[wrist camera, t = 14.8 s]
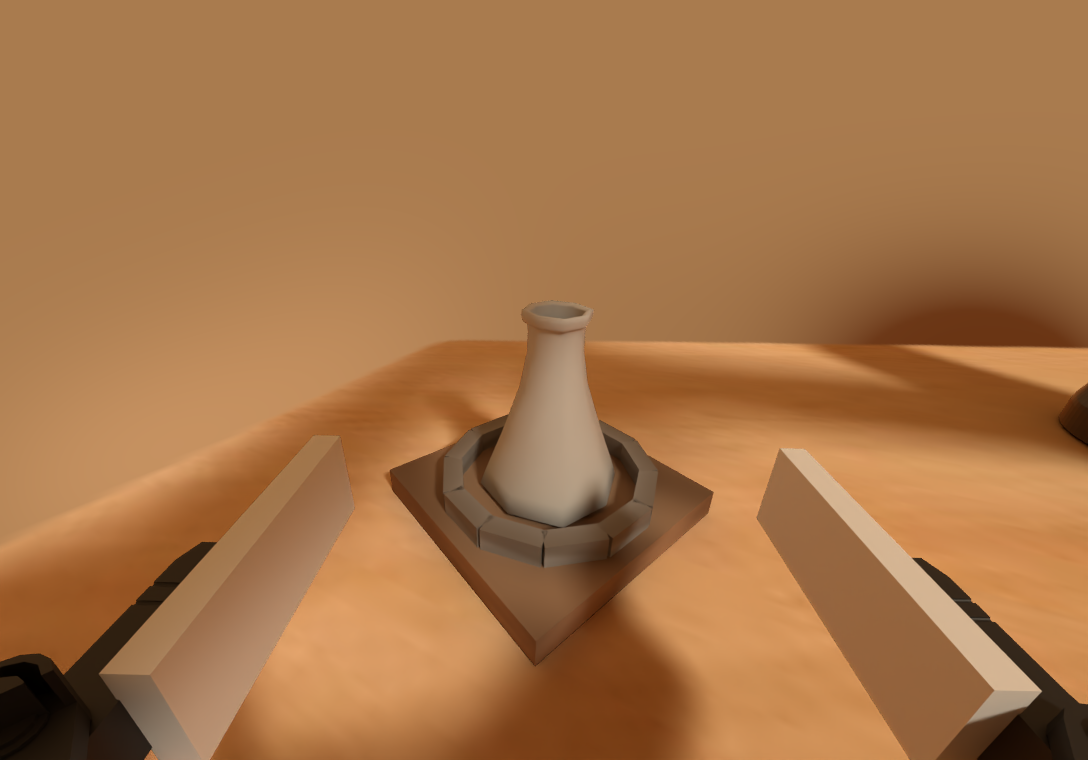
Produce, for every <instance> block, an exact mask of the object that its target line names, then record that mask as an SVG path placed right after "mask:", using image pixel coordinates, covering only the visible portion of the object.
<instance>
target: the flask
mask: <svg viewBox="0 0 1088 760" xmlns="http://www.w3.org/2000/svg"><path fill="white" fill-rule="evenodd" d="M521 315H522V320H523V321H524V322H525V323H527V326H528V343H527V355H526V359H525V364H524V369H523V373H522V378H521V383H520V386H519V389H518V392H517V394H516V397H515V399H514V402H513V405H512V407H511V410H510V412H509V415H508V418H507V420H506V423H505V425H504V428H503V430H502V433H501V435H500V437H499V440H498V442H497V444H496V447H495V449H494V451H493V454H492V456H491V458H490V460H489V463H488V465H487V467H486V470H485V472H484V475H483V478H482V480H481V483H482V485H483V486H484V487H485V488H486V489H487V490H488V492H489V493H490V494H491V495H492V496H493V497H494V498H495V500H496V501H497V502H498V503H499V504H500V505H501V507H502V508H503V509H504V510H505V511H506V512H507V514H511V515H515V516H519V517H522V518H526V519H530V520H534V521H538V522H542V523H545V524H549V525H553V526H557V527H561V528H564V527H566V526H568V525H570V524H572V523H573V522H575V521H577V520H579V519H581V518H583V517H585V516H587V515H589V514H591V513H592V512H594V511H596V510H598V509H600V508H602V507H604V506H606V505H607V501H608V497H609V493H610V490H611V486H612V482H613V478H614V474H615V471H614V468H613V464H612V461H611V458H610V455H609V452H608V449H607V446H606V443H605V440H604V437H603V434H602V431H601V428H600V424H599V421H598V417H597V414H596V410H595V407H594V403H593V400H592V396H591V393H590V389H589V386H588V381H587V372H586V363H585V354H584V344H585V329H586V326H587V325H588V323H589V322H590V320H591V319H592V316H593V309H591V308H588V307H585V306H582V305H580V304H577V303H570V302H561V301H553V300H551V301H544V302H538V303H531V304H530V305H528V306H527V307H525V308H524V309H523V310H522V313H521Z"/></svg>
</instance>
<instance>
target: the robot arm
mask: <svg viewBox="0 0 1088 760" xmlns="http://www.w3.org/2000/svg"><path fill="white" fill-rule="evenodd" d="M1059 420H1060V422H1061V424H1062V425H1063V426H1064V427H1065V428H1066V429H1067V430H1068V431H1069V432H1070V433H1072V434H1073V435H1074V436H1076V437H1077V438H1079V439H1080V440H1082V441H1083V442H1085V443H1087V444H1088V383H1087V384H1086V385H1085V386H1083V387H1082V388H1080V389H1079V390H1078V391H1076V392H1075V393H1074V395H1073V396H1072V397H1071V398H1070V400H1069V402H1068V403H1067V405H1066V406H1065V408H1064V409H1063V411H1062V412H1061V414H1060V415H1059ZM354 508H355V506H354V501H353V496H352V491H351V486H350V481H349V476H348V471H347V466H346V462H345V457H344V452H343V447H342V442H341V437H340V436H334V435H314V436H313V437H312V438H311V439H310V440H309V441H308V442H307V443H306V444H305V446H304V447H303V448H302V449H301V450H300V451H299V452H298V453H297V454H296V456H295V457H294V458H293V459H292V460H291V461H290V462H289V463H288V464H287V466H286V467H285V468H284V469H283V470H282V471H281V472H280V473H279V474H278V476H277V477H276V478H275V479H274V480H273V481H272V482H271V483H270V484H269V486H268V487H267V488H266V489H265V490H264V491H263V492H262V493H261V494H260V495H259V497H258V498H257V499H256V500H255V501H254V502H253V503H252V504H251V505H250V507H249V508H248V509H247V510H246V511H245V512H244V513H243V514H242V515H241V517H240V518H239V519H238V520H237V521H236V522H235V523H234V524H233V525H232V527H231V528H230V529H229V530H228V531H227V532H226V533H225V534H224V535H223V537H222V538H221V539H220V540H219V541H218V542H201V543H200V544H198V545H197V546H195V547H194V548H192V549H191V550H190V551H188V552H187V553H185V554H184V555H182V556H181V557H179V558H178V559H176V560H175V561H174V562H173V563H172V564H171V565H170V566H169V567H168V568H167V569H166V570H165V571H164V572H163V573H162V574H161V575H160V576H159V577H158V578H157V579H156V580H155V581H154V585H153V586H150V587H149V588H148V589H147V590H146V591H145V592H144V593H143V594H142V595H141V596H140V597H139V598H138V599H137V600H136V604H135V605H131V606H130V607H129V608H128V609H127V610H126V611H125V612H124V613H123V614H122V615H121V617H120V618H119V619H118V620H117V621H116V622H115V623H114V624H113V625H112V626H111V627H110V628H109V629H108V630H107V631H106V632H105V633H104V634H103V635H102V636H101V637H100V638H99V639H98V640H97V641H96V642H95V643H94V644H93V645H92V646H91V647H90V648H89V649H88V651H87V652H86V653H85V654H84V655H83V656H82V657H81V658H80V659H79V660H78V661H77V662H76V663H75V664H74V665H73V666H72V667H71V668H70V669H69V670H68V671H67V672H66V673H65V674H64V675H63V674H62V673H61V672H60V670H59V669H58V668H57V666H56V665H55V664H54V662H53V661H52V660H51V658H48V657H46V656H44V655H41V654H28V655H19V656H16V657H13V658H10V659H7V660H4V661H1V662H0V760H144V759H145V757H146V756H147V754H148V753H149V751H150V750H152V751H153V753H154V754H155V755H156V757H157V758H158V760H210V759H211V757H212V755H213V754H214V752H215V750H216V748H217V747H218V745H219V743H220V741H221V740H222V738H223V736H224V735H225V733H226V731H227V729H228V728H229V726H230V724H231V722H232V721H233V719H234V717H235V715H236V714H237V712H238V710H239V708H240V707H241V705H242V703H243V702H244V700H245V698H246V696H247V695H248V693H249V691H250V689H251V688H252V686H253V684H254V682H255V681H256V679H257V677H258V675H259V674H260V672H261V670H262V668H263V667H264V665H265V663H266V662H267V660H268V658H269V656H270V655H271V653H272V651H273V649H274V648H275V646H276V644H277V642H278V641H279V639H280V637H281V635H282V634H283V632H284V630H285V628H286V627H287V625H288V623H289V622H290V620H291V618H292V616H293V615H294V613H295V611H296V609H297V608H298V606H299V604H300V602H301V601H302V599H303V597H304V595H305V594H306V592H307V590H308V588H309V587H310V585H311V583H312V582H313V580H314V578H315V576H316V575H317V573H318V571H319V569H320V568H321V566H322V564H323V562H324V561H325V559H326V557H327V555H328V554H329V552H330V550H331V548H332V547H333V545H334V543H335V542H336V540H337V538H338V536H339V535H340V533H341V531H342V529H343V528H344V526H345V524H346V522H347V521H348V519H349V517H350V515H351V514H352V512H353V510H354ZM757 520H758V521H759V523H760V524H761V526H762V527H763V529H764V531H765V532H766V534H767V535H768V537H769V538H770V540H771V542H772V543H773V545H774V546H775V548H776V549H777V551H778V553H779V554H780V556H781V557H782V559H783V560H784V562H785V564H786V565H787V567H788V568H789V570H790V572H791V573H792V575H793V576H794V578H795V579H796V581H797V583H798V584H799V586H800V587H801V589H802V590H803V592H804V594H805V595H806V597H807V598H808V600H809V601H810V603H811V605H812V606H813V608H814V609H815V611H816V612H817V614H818V616H819V617H820V619H821V620H822V622H823V624H824V625H825V627H826V628H827V630H828V631H829V633H830V635H831V636H832V638H833V639H834V641H835V642H836V644H837V646H838V647H839V649H840V650H841V652H842V653H843V655H844V657H845V658H846V660H847V661H848V663H849V664H850V666H851V668H852V669H853V671H854V672H855V674H856V676H857V677H858V679H859V680H860V682H861V683H862V685H863V687H864V688H865V690H866V691H867V693H868V694H869V696H870V698H871V699H872V701H873V702H874V704H875V705H876V707H877V709H878V710H879V712H880V713H881V715H882V716H883V718H884V720H885V721H886V723H887V724H888V726H889V728H890V729H891V731H892V732H893V734H894V735H895V737H896V739H897V740H898V742H899V743H900V745H901V746H902V748H903V750H904V751H905V753H906V754H907V756H908V757H909V759H910V760H1088V704H1080V703H1078V702H1077V701H1076V700H1075V699H1074V698H1073V697H1072V696H1070V695H1069V694H1068V693H1067V692H1066V691H1065V690H1064V689H1063V688H1062V687H1061V686H1060V685H1059V684H1058V683H1057V682H1056V681H1055V680H1054V679H1053V678H1052V677H1051V676H1050V675H1049V674H1048V673H1047V672H1046V671H1045V670H1044V669H1043V668H1042V667H1041V666H1040V665H1039V664H1038V663H1037V662H1036V661H1034V660H1033V659H1032V658H1031V657H1030V656H1029V655H1028V654H1027V653H1026V652H1025V651H1024V650H1023V649H1022V648H1021V647H1020V646H1019V645H1018V644H1017V643H1016V642H1015V641H1014V640H1013V639H1012V638H1011V637H1010V636H1009V635H1008V634H1007V633H1006V632H1005V631H1004V630H1003V629H1002V628H1001V627H1000V626H999V625H998V624H997V623H996V622H992V621H991V620H990V617H989V616H988V615H987V614H986V613H985V612H984V611H983V610H982V609H981V608H980V607H979V606H978V605H977V604H976V603H972V602H971V598H970V597H969V596H968V595H967V594H966V593H965V592H964V591H963V590H962V589H961V588H960V587H959V586H958V585H957V584H956V583H954V582H953V581H952V580H951V579H950V578H949V577H948V576H947V575H945V574H944V573H942V572H941V571H939V570H938V569H936V568H935V567H933V566H932V565H931V564H929V563H928V562H926V561H925V560H923V559H922V558H911V557H910V556H909V555H908V554H907V553H906V552H905V551H904V550H903V549H902V548H901V547H900V546H899V545H898V544H897V543H896V542H895V541H894V540H893V539H892V537H891V536H890V535H889V534H888V533H887V532H886V531H885V530H884V529H883V528H882V527H881V526H880V525H879V524H878V523H877V522H876V521H875V520H874V519H873V518H872V517H871V516H870V515H869V514H868V513H867V512H866V511H865V510H864V509H863V508H862V507H861V506H860V505H859V504H858V503H857V502H856V501H855V500H854V499H853V498H852V497H851V496H850V495H849V494H848V493H847V491H846V490H845V489H844V488H843V487H842V486H841V485H840V484H839V483H838V482H837V481H836V480H835V479H834V478H833V477H832V476H831V475H830V474H829V473H828V472H827V471H826V470H825V469H824V468H823V467H822V466H821V465H820V464H819V463H818V462H817V461H816V460H815V459H814V458H813V457H812V456H811V455H810V454H809V453H808V452H807V451H806V450H805V449H788V448H780V449H779V452H778V455H777V458H776V461H775V464H774V467H773V470H772V473H771V476H770V479H769V482H768V485H767V488H766V491H765V494H764V497H763V500H762V503H761V506H760V509H759V512H758V515H757Z"/></svg>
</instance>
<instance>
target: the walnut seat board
mask: <svg viewBox="0 0 1088 760" xmlns="http://www.w3.org/2000/svg"><path fill="white" fill-rule="evenodd" d="M508 415H509V414H508ZM508 415H505V416H503V417H500V418H497V419H495V420H492V421H490V422H487V423H484V424H482V425H479V426H477V427H474V428H471V430H469V431H468V432H467V433H466V434H465V435H464V436H463V437H462V438H461V439H460V440H459V441H458V442H457V443H456V444H453V445H451V446H448V447H446V448H443V449H441V450H438V451H436V452H433V453H431V454H428V455H426V456H423V457H421V458H418V459H416V460H413V461H411V462H408V463H406V464H403V465H401V466H398V467H396V468H393V469H391V470H390V475H391V481H392V488H393V491H394V492H395V494H396V495H397V496H398V497H399V499H400V500H401V501H402V502H403V504H404V505H405V506H406V507H407V509H408V510H409V511H410V512H411V513H412V515H413V516H414V517H415V518H416V520H417V521H418V522H419V523H420V525H421V526H422V527H423V528H424V530H425V531H426V532H427V533H428V534H429V536H430V537H431V538H432V539H433V541H434V542H435V543H436V544H437V546H438V547H439V548H440V549H441V551H442V552H443V553H444V554H445V555H446V557H447V558H448V559H449V560H450V562H451V563H452V564H453V565H454V567H455V568H456V569H457V570H458V572H459V573H460V574H461V575H462V576H463V578H464V579H465V580H466V581H467V583H468V584H469V585H470V586H471V588H472V589H473V590H474V591H475V593H476V594H477V595H478V596H479V597H480V599H481V600H482V601H483V602H484V604H485V605H486V606H487V607H488V609H489V610H490V611H491V612H492V614H493V615H494V616H495V617H496V618H497V620H498V621H499V622H500V623H501V625H502V626H503V627H504V628H505V630H506V631H507V632H508V633H509V635H510V636H511V637H512V638H513V639H514V641H515V642H516V643H517V644H518V646H519V647H520V648H521V649H522V651H523V652H524V653H525V654H526V656H527V657H528V658H529V659H530V660H531V662H532V663H533V664H534V665H535V666H536V665H537V664H538V663H539V662H540V661H541V660H543V659H544V658H545V657H546V656H547V655H548V654H549V653H550V652H552V651H553V650H554V649H555V648H556V647H557V646H558V645H559V644H561V643H562V642H563V641H564V640H565V639H566V638H567V637H569V636H570V635H571V634H572V633H573V632H574V631H575V630H576V629H578V628H579V627H580V626H581V625H582V624H583V623H584V622H585V621H587V620H588V619H589V618H590V617H591V616H592V615H593V614H594V613H596V612H597V611H598V610H599V609H600V608H601V607H602V606H603V605H605V604H606V603H607V602H608V601H609V600H610V599H611V598H613V597H614V596H615V595H616V594H617V593H618V592H619V591H620V590H622V589H623V588H624V587H625V586H626V585H627V584H628V583H629V582H631V581H632V580H633V579H634V578H635V577H636V576H637V575H638V574H640V573H641V572H642V571H643V570H644V569H645V568H646V567H648V566H649V565H650V564H651V563H652V562H653V561H654V560H655V559H657V558H658V557H659V556H660V555H661V554H662V553H663V552H664V551H666V550H667V549H668V548H669V547H670V546H671V545H672V544H673V543H675V542H676V541H677V540H678V539H679V538H680V537H681V536H683V535H684V534H685V533H686V532H687V531H688V530H689V529H690V528H692V527H693V526H694V525H695V524H696V523H697V522H698V521H699V520H701V519H702V518H703V517H704V516H705V515H706V514H707V513H708V511H709V508H710V504H711V500H712V496H713V493H714V492H712V491H711V490H709V489H707V488H705V487H703V486H702V485H700V484H698V483H696V482H694V481H693V480H691V479H689V478H687V477H686V476H684V475H682V474H680V473H678V472H677V471H675V470H673V469H671V468H669V467H668V466H666V465H664V464H662V463H661V462H659V461H657V460H655V459H653V458H652V457H650V456H648V455H647V454H646V453H645V451H644V450H643V449H642V447H641V446H640V444H639V443H638V442H637V441H635V439H634V438H632V437H630V436H628V435H626V434H625V433H623V432H621V431H619V430H617V429H615V428H614V427H612V426H610V425H608V424H606V423H604V422H603V421H601V420H599V424H600V428H601V431H602V434H603V437H604V440H605V443H606V446H607V449H608V452H609V455H610V458H611V461H612V464H613V468H614V471H615V474H614V478H613V482H612V486H611V490H610V493H609V497H608V501H607V505H606V506H604V507H602V508H600V509H598V510H596V511H594V512H592V513H591V514H589V515H587V516H585V517H583V518H581V519H579V520H577V521H575V522H573V523H572V524H570V525H568V526H566V527H564V528H561V527H557V526H553V525H549V524H545V523H542V522H538V521H534V520H530V519H526V518H522V517H519V516H515V515H511V514H507V512H506V511H505V510H504V509H503V508H502V507H501V505H500V504H499V503H498V502H497V501H496V500H495V498H494V497H493V496H492V495H491V494H490V493H489V492H488V490H487V489H486V488H485V487H484V486H483V485H482V483H481V480H482V478H483V475H484V472H485V470H486V467H487V465H488V463H489V460H490V458H491V456H492V454H493V451H494V449H495V447H496V444H497V442H498V440H499V437H500V435H501V433H502V430H503V428H504V425H505V423H506V420H507V418H508Z"/></svg>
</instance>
